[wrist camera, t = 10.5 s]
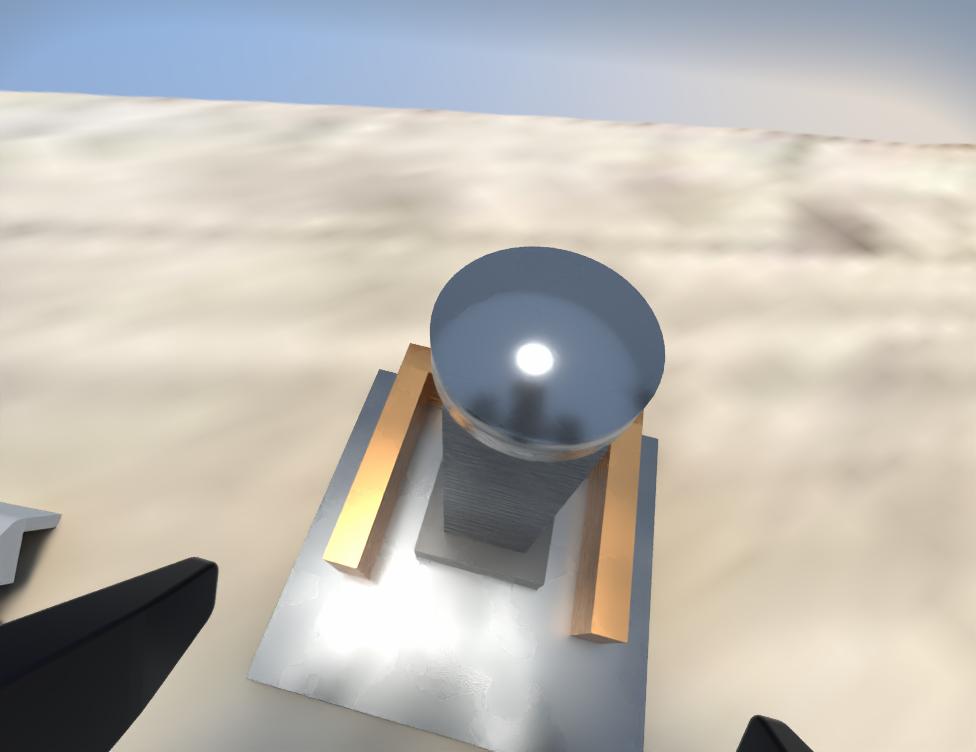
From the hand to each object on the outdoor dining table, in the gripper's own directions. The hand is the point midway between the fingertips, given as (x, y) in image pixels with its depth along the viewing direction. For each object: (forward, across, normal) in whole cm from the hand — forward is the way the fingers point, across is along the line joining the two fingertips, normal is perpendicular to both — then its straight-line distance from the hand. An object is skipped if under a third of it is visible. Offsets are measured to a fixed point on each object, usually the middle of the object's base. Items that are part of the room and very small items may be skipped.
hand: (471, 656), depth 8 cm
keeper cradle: (+11, 0, +5) cm, 12 cm away
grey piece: (+12, 0, +4) cm, 12 cm away
